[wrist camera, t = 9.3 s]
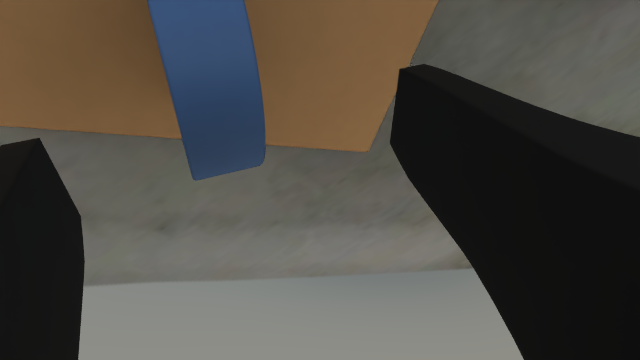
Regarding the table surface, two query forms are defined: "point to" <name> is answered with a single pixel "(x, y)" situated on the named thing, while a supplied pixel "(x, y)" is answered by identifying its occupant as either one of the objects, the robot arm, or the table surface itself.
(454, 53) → the table surface
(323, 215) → the table surface
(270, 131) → the mat
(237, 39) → the blue disc
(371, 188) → the table surface
